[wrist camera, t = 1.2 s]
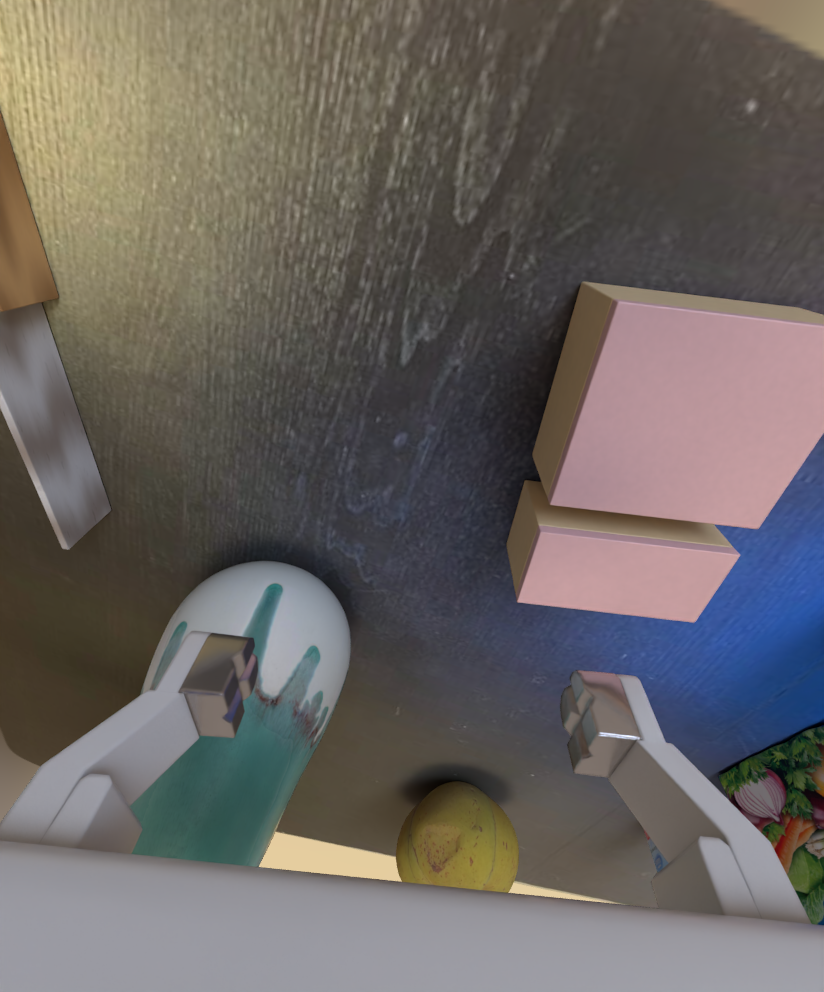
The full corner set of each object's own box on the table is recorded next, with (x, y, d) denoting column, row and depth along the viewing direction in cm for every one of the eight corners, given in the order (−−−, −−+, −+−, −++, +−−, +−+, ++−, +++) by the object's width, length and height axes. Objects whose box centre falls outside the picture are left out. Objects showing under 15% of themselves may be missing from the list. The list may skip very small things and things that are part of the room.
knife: (-85, 35, 17) (-215, -8, 13) (-21, 43, 17) (-136, 2, 13) (90, 507, 29) (44, 546, 26) (127, 511, 29) (86, 551, 26)
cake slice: (524, 479, 26) (540, 531, 22) (692, 499, 26) (741, 555, 22) (505, 544, 29) (516, 602, 24) (658, 562, 29) (694, 623, 25)
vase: (195, 523, 29) (-66, 859, 14) (368, 552, 30) (294, 905, 15) (209, 636, 36) (41, 950, 21) (352, 658, 36) (289, 980, 21)
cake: (581, 280, 20) (618, 300, 16) (798, 307, 20) (891, 334, 16) (531, 455, 25) (549, 505, 21) (705, 475, 25) (758, 529, 21)
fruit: (400, 756, 44) (391, 884, 36) (518, 764, 44) (537, 896, 35) (400, 806, 50) (392, 925, 42) (504, 813, 50) (517, 935, 42)
